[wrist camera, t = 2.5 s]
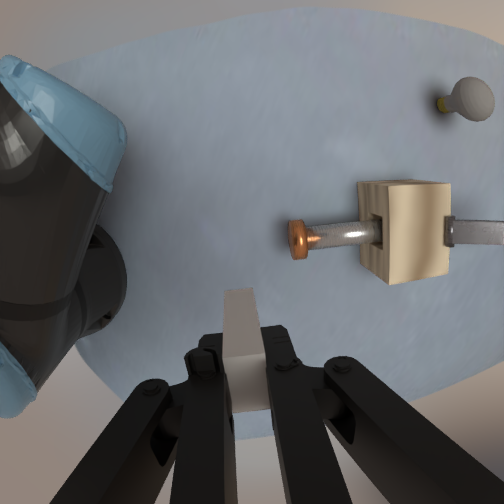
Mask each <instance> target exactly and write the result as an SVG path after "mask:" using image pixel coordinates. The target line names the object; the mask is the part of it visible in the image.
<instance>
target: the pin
mask: <svg viewBox="0 0 504 504" xmlns="http://www.w3.org/2000/svg"><path fill="white" fill-rule="evenodd" d="M288 240H289V247H290V252H291V256H292V258H293V260H300V259H306V258H307V256H308V250H316V249H324V248H332V247H340V246H348V245H356V244H364V243H372V242H380V241H383V220H382V219H376V220H366V221H356V222H347V223H337V224H327V225H318V226H309V227H305V224H304V222H303V220H302V219H300V220H290V221H289V222H288Z"/></svg>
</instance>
